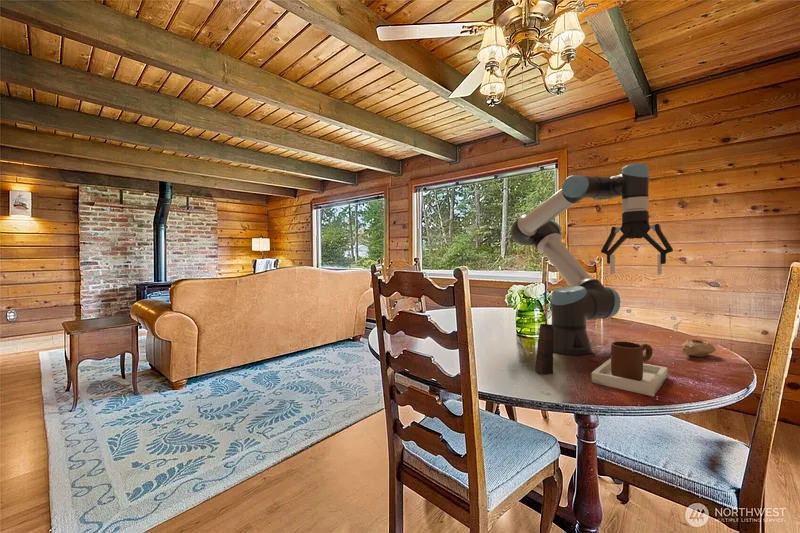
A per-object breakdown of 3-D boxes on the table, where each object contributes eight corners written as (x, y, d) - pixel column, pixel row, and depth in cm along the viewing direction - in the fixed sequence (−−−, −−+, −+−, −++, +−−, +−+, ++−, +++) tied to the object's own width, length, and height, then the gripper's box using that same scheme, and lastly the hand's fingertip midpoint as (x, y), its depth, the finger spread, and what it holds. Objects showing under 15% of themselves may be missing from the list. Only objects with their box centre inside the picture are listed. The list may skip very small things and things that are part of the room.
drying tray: (591, 382, 98) (591, 372, 98) (610, 366, 111) (610, 357, 111) (653, 396, 88) (653, 385, 88) (667, 377, 101) (667, 367, 101)
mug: (640, 370, 104) (640, 339, 103) (663, 379, 96) (663, 346, 96) (604, 374, 102) (604, 342, 101) (625, 383, 94) (625, 349, 94)
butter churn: (559, 380, 100) (559, 283, 99) (525, 374, 106) (524, 282, 105) (564, 370, 108) (563, 281, 107) (532, 366, 113) (531, 280, 112)
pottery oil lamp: (669, 354, 121) (667, 334, 123) (694, 362, 124) (691, 342, 126) (697, 351, 113) (694, 330, 116) (723, 360, 116) (719, 339, 119)
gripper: (684, 207, 111) (683, 274, 112) (597, 215, 129) (598, 272, 130) (680, 206, 106) (679, 275, 107) (591, 214, 124) (591, 273, 125)
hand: (635, 273), depth 119 cm, fingers open, 13 cm apart
